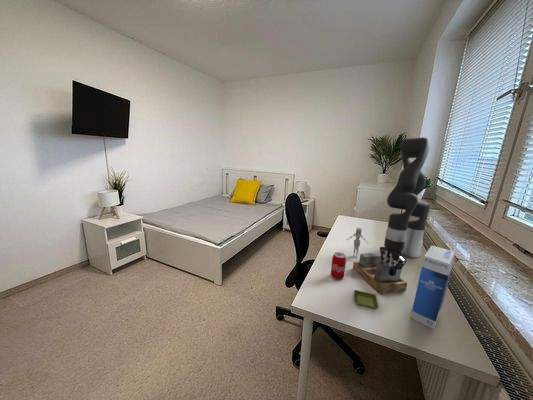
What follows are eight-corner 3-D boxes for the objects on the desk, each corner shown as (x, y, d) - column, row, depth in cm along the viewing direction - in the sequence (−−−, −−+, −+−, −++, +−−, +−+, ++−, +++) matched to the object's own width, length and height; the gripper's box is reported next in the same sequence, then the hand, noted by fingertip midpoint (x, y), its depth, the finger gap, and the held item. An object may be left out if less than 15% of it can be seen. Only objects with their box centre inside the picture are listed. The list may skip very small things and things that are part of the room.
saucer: (353, 306, 85) (354, 302, 84) (353, 293, 93) (353, 289, 92) (377, 312, 82) (378, 308, 82) (375, 298, 90) (376, 294, 90)
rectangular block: (393, 277, 99) (396, 262, 97) (398, 282, 96) (402, 266, 94) (374, 278, 97) (377, 262, 95) (379, 282, 94) (382, 266, 92)
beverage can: (337, 282, 100) (339, 259, 97) (327, 275, 105) (330, 253, 103) (346, 278, 103) (349, 256, 100) (337, 272, 108) (339, 250, 105)
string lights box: (418, 301, 88) (431, 244, 82) (441, 312, 83) (457, 251, 77) (409, 318, 79) (423, 255, 73) (435, 330, 74) (451, 264, 68)
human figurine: (344, 255, 126) (347, 227, 122) (344, 253, 129) (348, 225, 125) (366, 260, 121) (370, 230, 117) (366, 257, 124) (370, 228, 120)
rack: (376, 267, 114) (378, 250, 112) (405, 290, 95) (409, 271, 93) (352, 268, 112) (354, 252, 110) (377, 293, 93) (380, 274, 91)
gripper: (416, 244, 86) (408, 281, 90) (391, 231, 99) (385, 264, 103) (400, 245, 84) (393, 283, 88) (376, 231, 98) (371, 265, 102)
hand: (388, 273), depth 96 cm, fingers closed on rectangular block, 3 cm apart
